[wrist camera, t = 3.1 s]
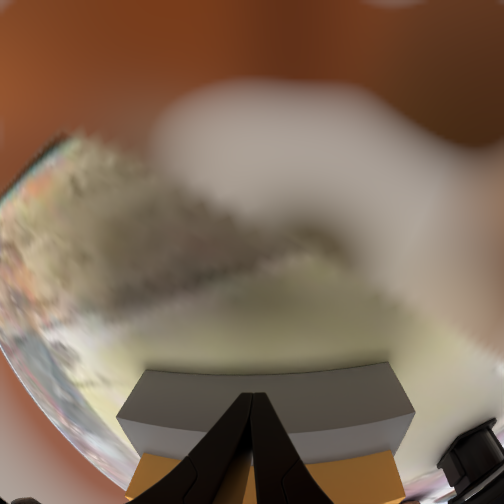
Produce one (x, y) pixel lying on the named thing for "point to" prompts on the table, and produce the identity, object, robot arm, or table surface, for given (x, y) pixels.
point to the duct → (285, 404)
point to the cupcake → (409, 503)
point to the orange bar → (325, 474)
